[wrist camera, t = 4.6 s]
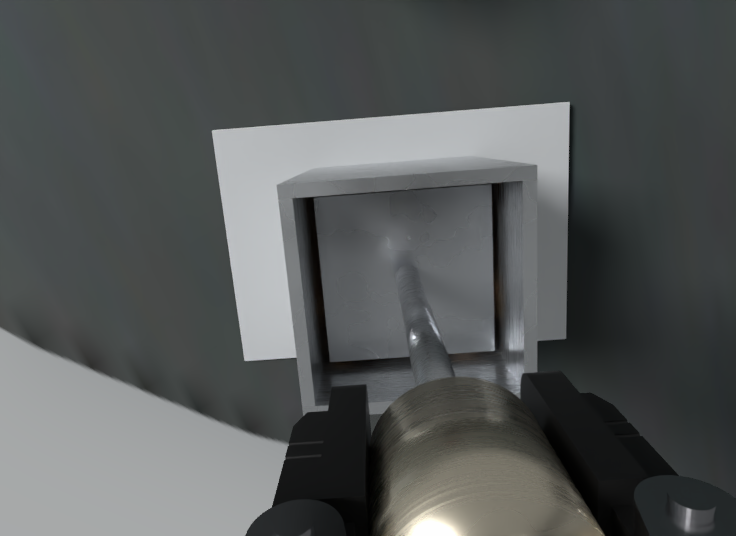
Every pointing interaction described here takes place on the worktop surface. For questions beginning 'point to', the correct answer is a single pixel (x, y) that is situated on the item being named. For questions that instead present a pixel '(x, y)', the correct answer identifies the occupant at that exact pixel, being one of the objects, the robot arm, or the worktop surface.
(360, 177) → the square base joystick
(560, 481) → the plunger
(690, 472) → the worktop surface
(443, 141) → the tray
